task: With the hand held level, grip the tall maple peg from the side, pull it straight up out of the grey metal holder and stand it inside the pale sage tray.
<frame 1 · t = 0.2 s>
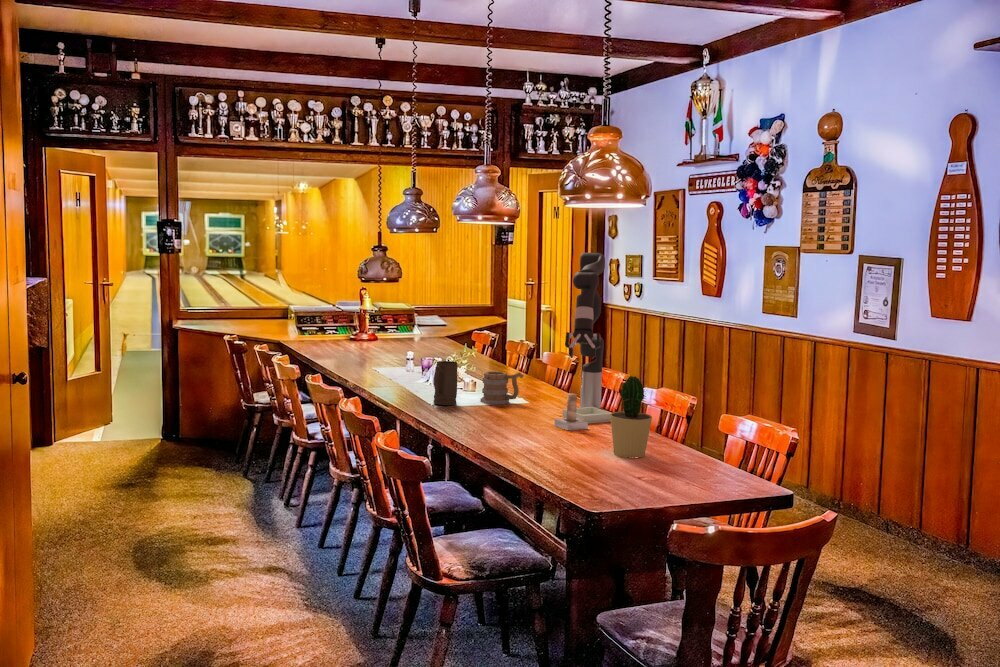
hand: (582, 357, 379), 31 cm above the table, tool tilted 20°, fingers open, 8 cm apart
tankard: (502, 403, 443), on the table
peg holder: (570, 427, 391), on the table
sage tray: (587, 419, 410), on the table
potted cactus: (629, 455, 345), on the table
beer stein: (443, 405, 432), on the table
maple peg: (571, 410, 390), in the peg holder
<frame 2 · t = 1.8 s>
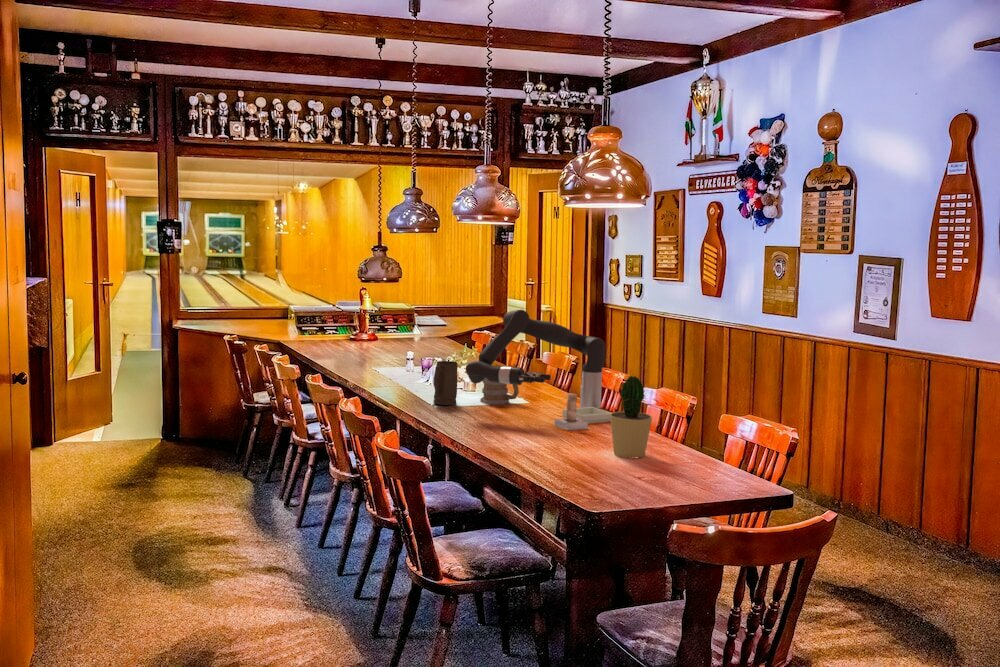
hand: (547, 378, 393), 20 cm above the table, tool horizontal, fingers open, 8 cm apart
nothing on the table moved.
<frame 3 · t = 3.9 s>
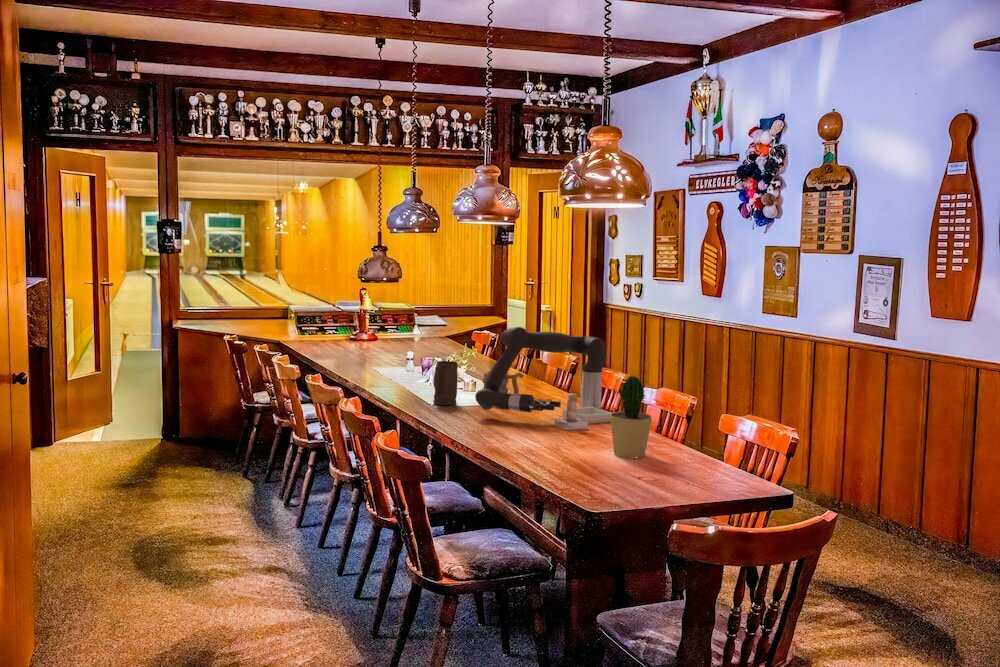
hand: (557, 406, 392), 8 cm above the table, tool horizontal, fingers open, 8 cm apart
nothing on the table moved.
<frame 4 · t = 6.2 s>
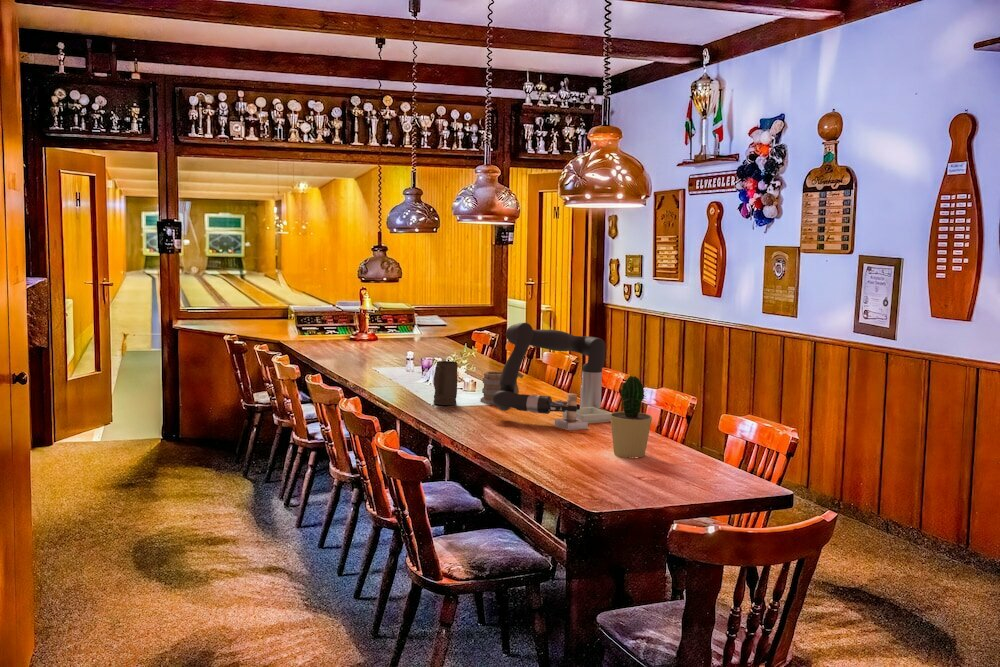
hand: (578, 407, 389), 9 cm above the table, tool horizontal, fingers closed on maple peg, 4 cm apart
maple peg: (571, 410, 390), in the peg holder, touching gripper
everything else where it was.
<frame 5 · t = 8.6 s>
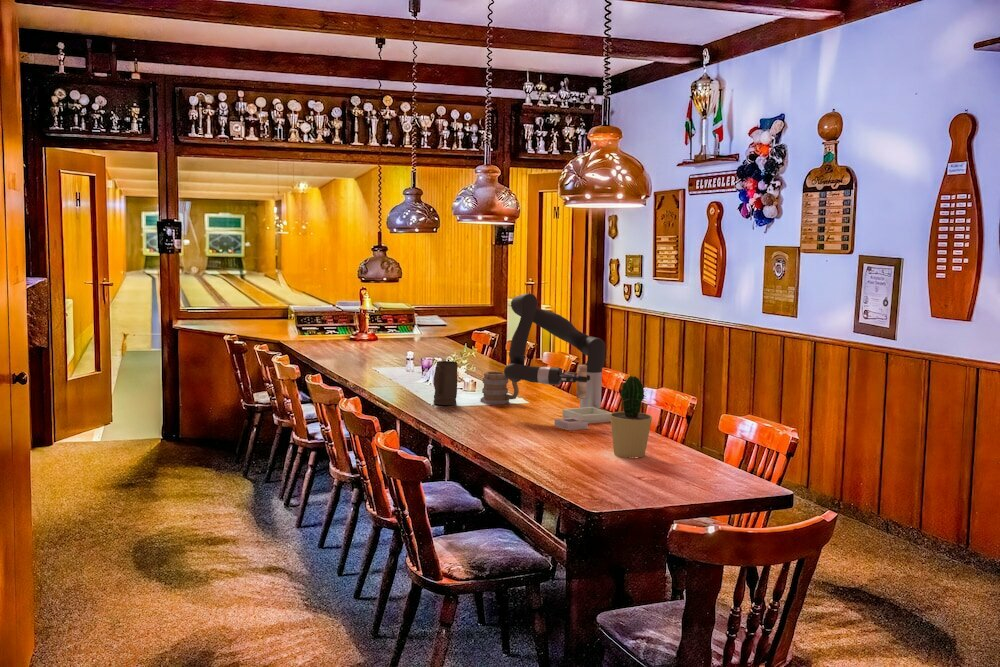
hand: (588, 378, 396), 20 cm above the table, tool horizontal, fingers closed on maple peg, 4 cm apart
maple peg: (581, 381, 397), point 18 cm above the table, touching gripper
everything else where it was.
when the fingers open (11 cm above the table, at t = 11.4 s): maple peg drops 1 cm, resting on sage tray.
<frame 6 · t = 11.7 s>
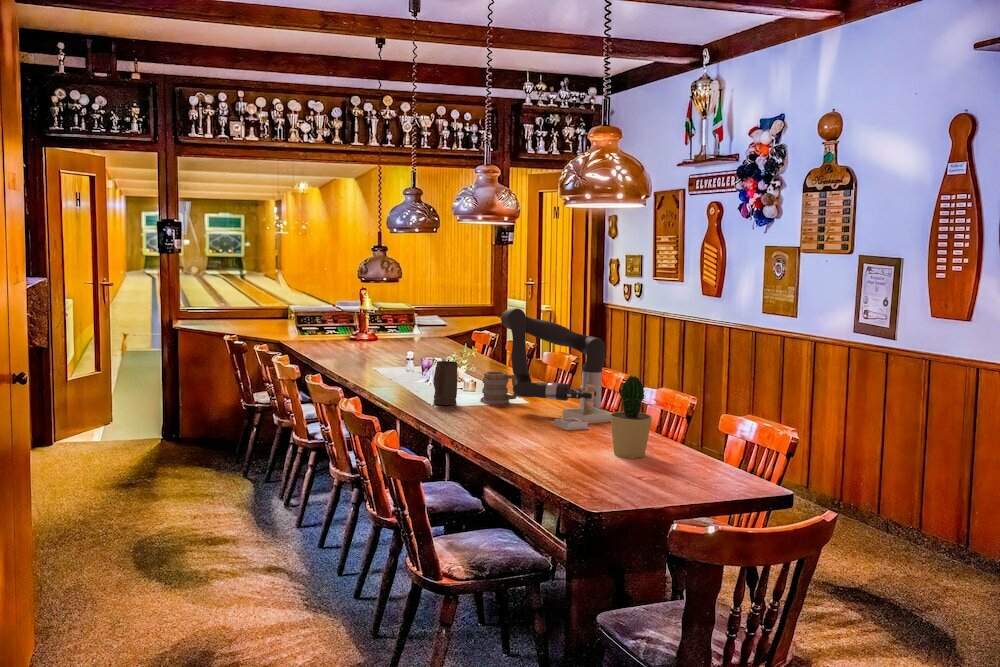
hand: (593, 394, 408), 11 cm above the table, tool horizontal, fingers open, 6 cm apart
maple peg: (589, 401, 409), in the sage tray, point 8 cm above the table
everything else where it was.
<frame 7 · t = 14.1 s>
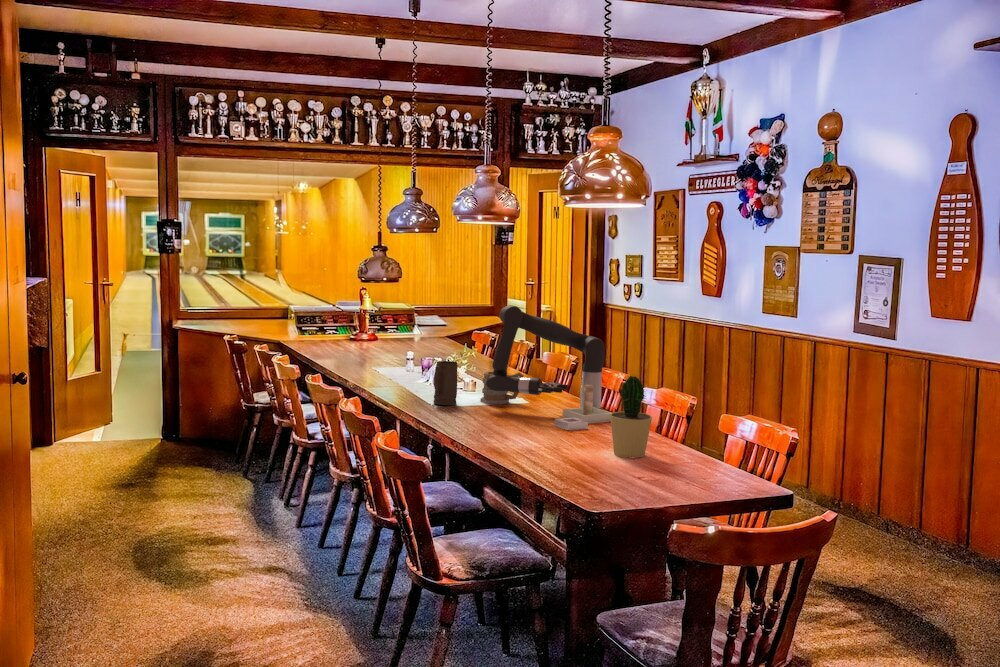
hand: (564, 388, 412), 12 cm above the table, tool horizontal, fingers open, 8 cm apart
nothing on the table moved.
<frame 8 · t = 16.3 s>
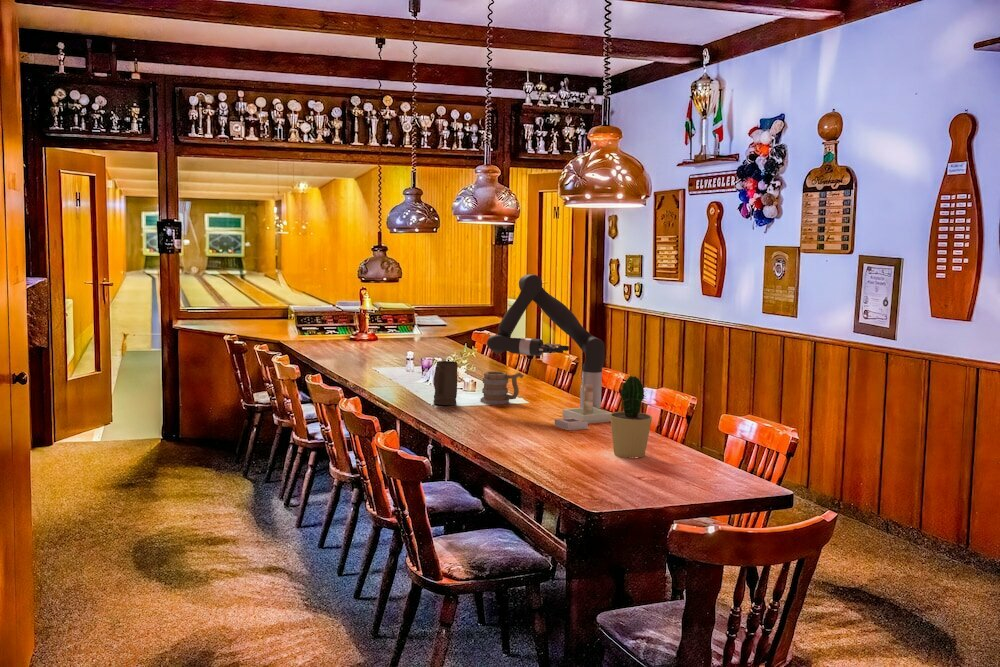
hand: (566, 349, 410), 30 cm above the table, tool horizontal, fingers open, 8 cm apart
nothing on the table moved.
at the end: maple peg inside the target area on the sage tray (0.1 cm from its centre), point 8.0 cm above the sage tray's base; maple peg tilted 0°; the gripper is holding nothing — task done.
